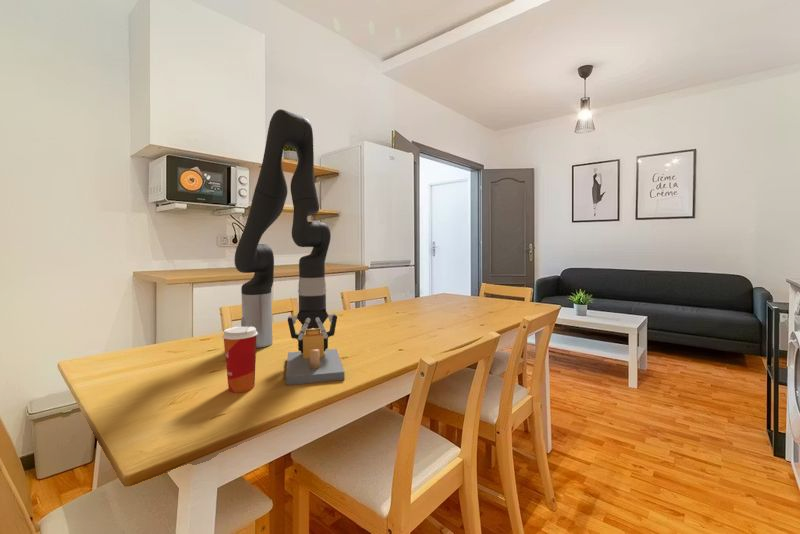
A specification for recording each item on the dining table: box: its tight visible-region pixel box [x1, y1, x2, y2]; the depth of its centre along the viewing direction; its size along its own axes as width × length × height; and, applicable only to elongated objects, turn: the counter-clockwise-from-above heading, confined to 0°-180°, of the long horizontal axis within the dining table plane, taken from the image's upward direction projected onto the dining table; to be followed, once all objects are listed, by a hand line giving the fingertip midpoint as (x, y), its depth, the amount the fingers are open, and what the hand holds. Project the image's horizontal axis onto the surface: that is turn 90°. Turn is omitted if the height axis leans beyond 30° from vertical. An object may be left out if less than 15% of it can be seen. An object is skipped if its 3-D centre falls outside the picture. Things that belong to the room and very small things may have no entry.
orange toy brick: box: [303, 328, 324, 358], centre depth 105 cm, size 6×6×7 cm
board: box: [285, 348, 346, 386], centre depth 100 cm, size 14×20×6 cm
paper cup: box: [221, 325, 258, 394], centre depth 86 cm, size 8×8×14 cm
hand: (313, 351), depth 105 cm, fingers closed on orange toy brick, 5 cm apart
